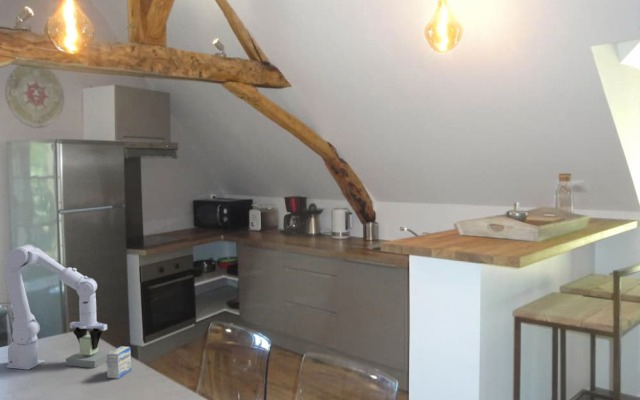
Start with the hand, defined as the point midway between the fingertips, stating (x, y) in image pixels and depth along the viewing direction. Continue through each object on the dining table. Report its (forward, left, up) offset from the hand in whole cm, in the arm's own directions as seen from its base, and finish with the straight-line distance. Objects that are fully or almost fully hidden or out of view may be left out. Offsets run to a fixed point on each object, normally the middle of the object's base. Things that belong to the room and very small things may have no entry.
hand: (89, 348), depth 194 cm
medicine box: (+18, -8, -6) cm, 20 cm away
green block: (0, 0, -2) cm, 2 cm away
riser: (0, 0, -5) cm, 5 cm away
